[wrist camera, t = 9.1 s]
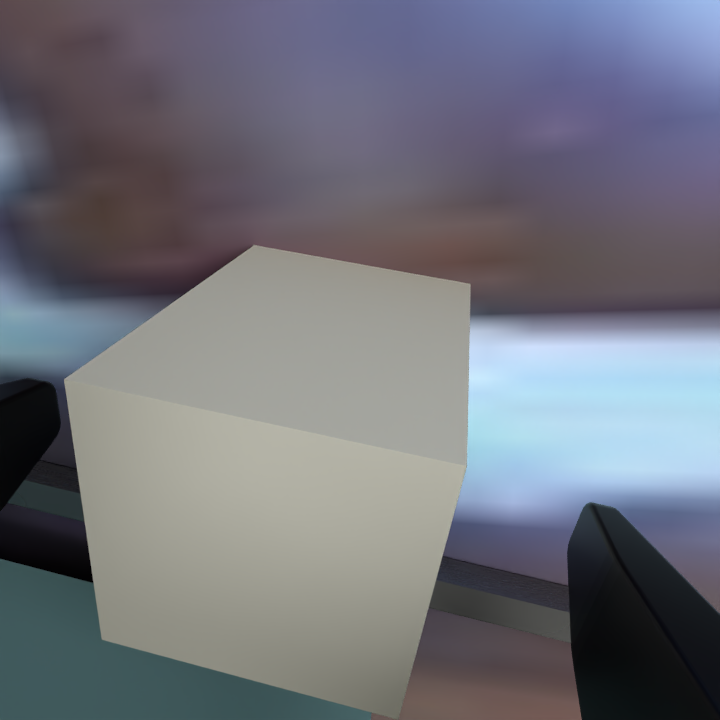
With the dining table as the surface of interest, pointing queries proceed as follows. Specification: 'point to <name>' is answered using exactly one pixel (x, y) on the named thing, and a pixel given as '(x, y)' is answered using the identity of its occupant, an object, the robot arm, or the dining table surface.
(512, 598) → the cart rails
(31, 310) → the dining table surface
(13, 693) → the teal tray
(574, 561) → the robot arm
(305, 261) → the part block
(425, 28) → the dining table surface
